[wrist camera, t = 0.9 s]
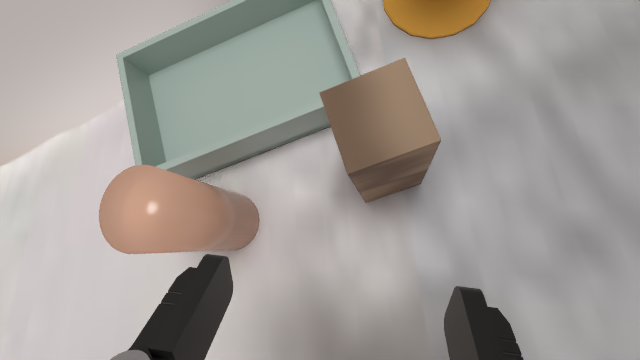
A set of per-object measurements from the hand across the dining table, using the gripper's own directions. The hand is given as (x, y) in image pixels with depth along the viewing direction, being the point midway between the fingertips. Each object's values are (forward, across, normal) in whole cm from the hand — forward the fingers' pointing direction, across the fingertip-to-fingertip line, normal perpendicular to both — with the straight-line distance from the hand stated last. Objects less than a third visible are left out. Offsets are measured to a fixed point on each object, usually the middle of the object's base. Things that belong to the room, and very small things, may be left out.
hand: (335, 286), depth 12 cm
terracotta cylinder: (+13, +10, +9) cm, 18 cm away
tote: (+21, +10, 0) cm, 23 cm away
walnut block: (+15, -2, +4) cm, 16 cm away
